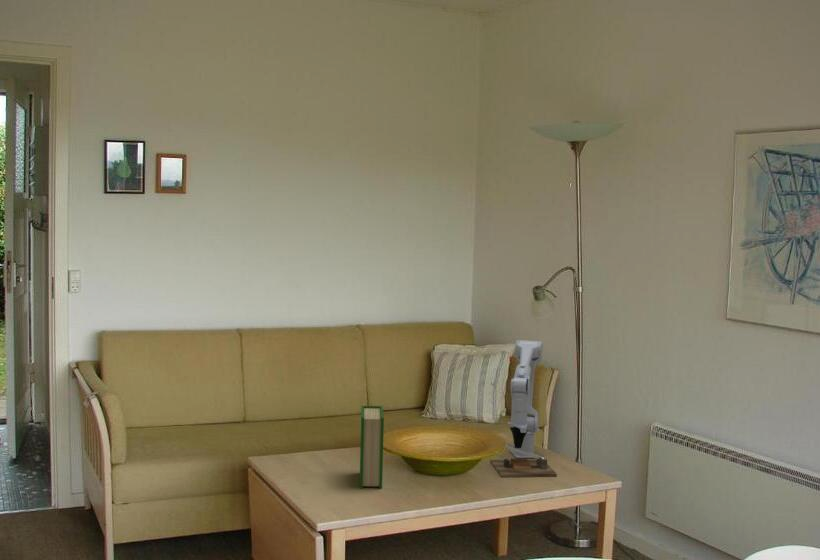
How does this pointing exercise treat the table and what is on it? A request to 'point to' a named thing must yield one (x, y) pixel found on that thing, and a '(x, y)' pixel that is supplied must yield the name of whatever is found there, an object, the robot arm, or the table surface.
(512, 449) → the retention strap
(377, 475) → the hardback book
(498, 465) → the strap board
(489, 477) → the table surface
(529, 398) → the robot arm
